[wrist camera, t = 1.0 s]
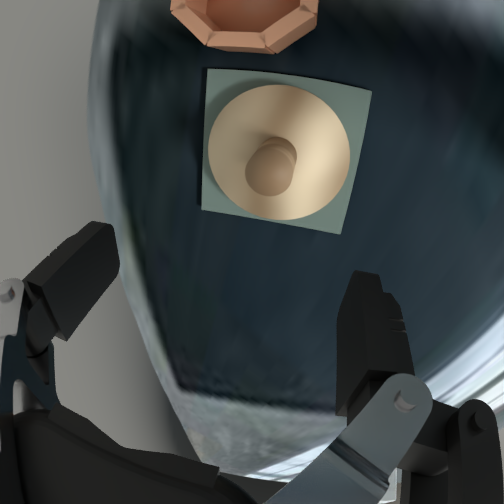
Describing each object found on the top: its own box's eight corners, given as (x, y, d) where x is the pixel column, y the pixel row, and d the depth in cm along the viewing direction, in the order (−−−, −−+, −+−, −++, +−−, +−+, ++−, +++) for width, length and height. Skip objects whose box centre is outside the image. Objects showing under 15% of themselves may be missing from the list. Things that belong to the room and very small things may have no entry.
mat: (370, 91, 18) (371, 91, 18) (339, 231, 25) (340, 234, 24) (209, 68, 19) (207, 68, 19) (203, 206, 26) (201, 209, 26)
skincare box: (368, 461, 54) (365, 503, 45) (378, 456, 52) (376, 501, 42) (386, 462, 54) (385, 503, 45) (397, 457, 52) (396, 500, 42)
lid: (359, 98, 18) (374, 105, 13) (333, 224, 24) (335, 263, 19) (217, 79, 19) (187, 80, 15) (210, 202, 25) (185, 234, 20)
